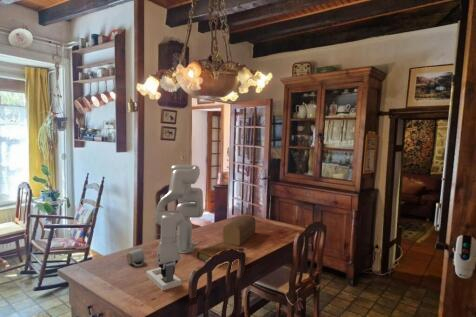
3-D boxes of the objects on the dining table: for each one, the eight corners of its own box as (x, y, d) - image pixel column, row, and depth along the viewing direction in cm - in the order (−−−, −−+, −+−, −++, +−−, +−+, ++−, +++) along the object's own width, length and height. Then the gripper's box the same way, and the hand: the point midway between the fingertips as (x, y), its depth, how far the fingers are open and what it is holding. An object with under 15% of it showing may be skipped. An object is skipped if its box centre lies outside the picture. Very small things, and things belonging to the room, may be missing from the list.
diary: (223, 250, 205) (223, 241, 205) (243, 257, 192) (244, 248, 192) (196, 259, 188) (196, 249, 188) (217, 268, 175) (217, 258, 175)
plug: (169, 277, 156) (169, 260, 156) (173, 280, 153) (173, 262, 153) (162, 279, 154) (162, 262, 153) (166, 282, 151) (166, 264, 150)
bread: (255, 233, 242) (256, 215, 241) (239, 246, 210) (240, 226, 209) (239, 230, 247) (239, 213, 246) (221, 243, 215) (222, 224, 215)
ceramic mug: (125, 262, 179) (125, 249, 178) (139, 259, 185) (139, 246, 184) (133, 268, 171) (133, 255, 171) (147, 264, 177) (147, 252, 176)
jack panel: (163, 271, 169) (163, 266, 169) (181, 284, 154) (181, 280, 153) (146, 275, 163) (146, 271, 162) (162, 290, 147) (162, 285, 147)
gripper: (179, 234, 160) (179, 268, 162) (149, 240, 150) (149, 276, 151) (186, 238, 155) (186, 273, 156) (155, 244, 144) (155, 282, 145)
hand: (167, 274), depth 153 cm, fingers closed on plug, 4 cm apart
